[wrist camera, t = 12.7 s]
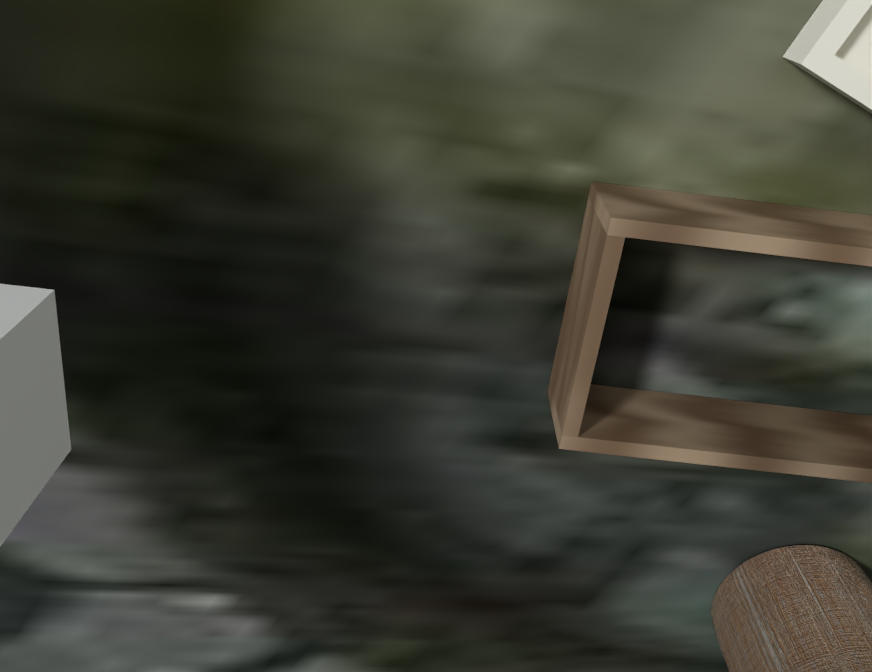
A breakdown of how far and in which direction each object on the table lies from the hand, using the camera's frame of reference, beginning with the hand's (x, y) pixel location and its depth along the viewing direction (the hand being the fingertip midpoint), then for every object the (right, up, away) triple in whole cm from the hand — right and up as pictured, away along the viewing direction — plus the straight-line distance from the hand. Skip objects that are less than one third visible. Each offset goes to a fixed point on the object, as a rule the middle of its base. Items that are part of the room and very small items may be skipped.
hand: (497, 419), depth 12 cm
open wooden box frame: (+16, +2, +31) cm, 35 cm away
